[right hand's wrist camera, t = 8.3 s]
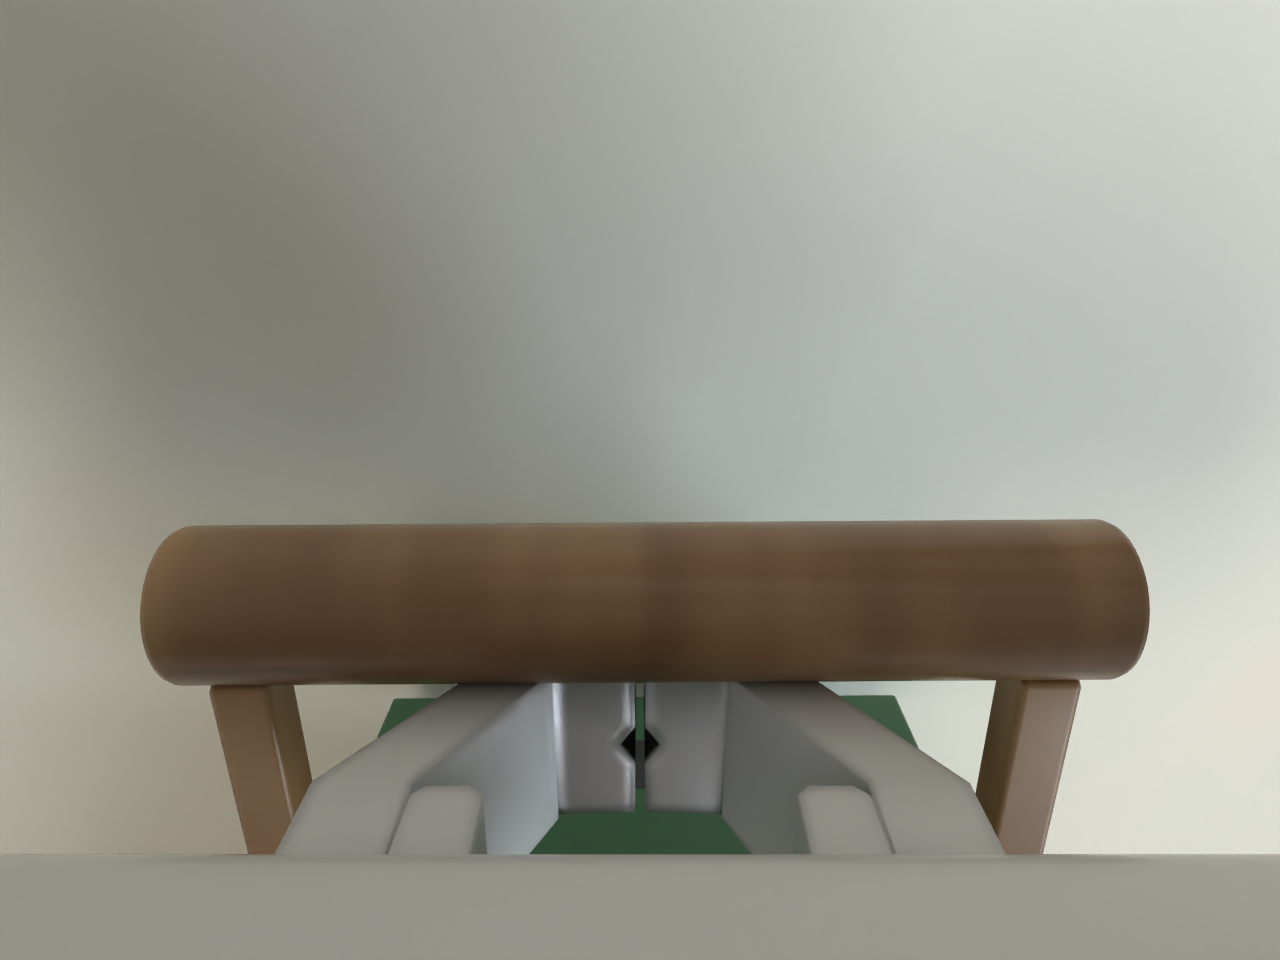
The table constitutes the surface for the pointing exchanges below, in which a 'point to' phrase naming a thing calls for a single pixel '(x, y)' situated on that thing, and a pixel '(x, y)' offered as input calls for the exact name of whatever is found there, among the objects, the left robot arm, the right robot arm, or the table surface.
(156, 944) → the right robot arm
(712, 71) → the table surface
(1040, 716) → the drawer
